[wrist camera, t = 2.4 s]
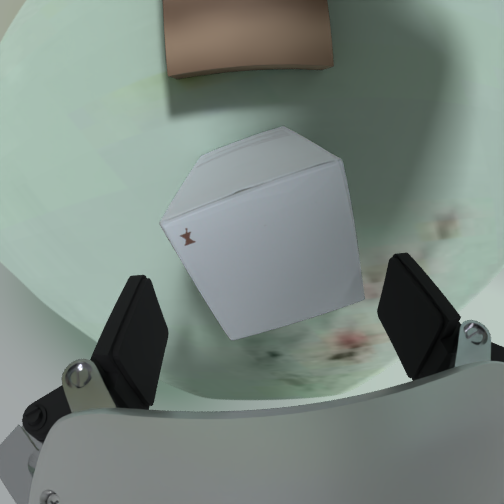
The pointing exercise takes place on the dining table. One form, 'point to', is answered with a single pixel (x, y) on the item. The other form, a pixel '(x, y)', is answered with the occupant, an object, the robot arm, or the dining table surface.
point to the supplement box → (267, 232)
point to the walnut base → (245, 36)
